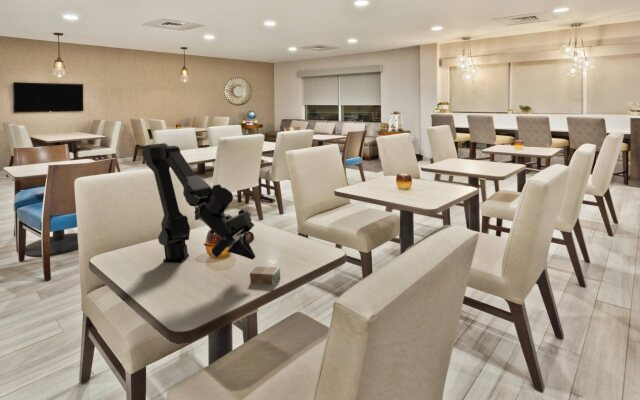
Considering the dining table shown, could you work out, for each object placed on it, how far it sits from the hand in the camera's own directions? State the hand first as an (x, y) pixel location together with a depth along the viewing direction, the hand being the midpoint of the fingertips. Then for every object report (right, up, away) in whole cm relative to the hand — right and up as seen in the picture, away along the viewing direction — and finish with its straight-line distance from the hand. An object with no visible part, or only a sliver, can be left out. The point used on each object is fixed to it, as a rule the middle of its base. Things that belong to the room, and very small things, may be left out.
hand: (254, 258), depth 123 cm
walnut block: (0, -5, +2) cm, 6 cm away
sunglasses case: (-15, +1, +35) cm, 38 cm away
